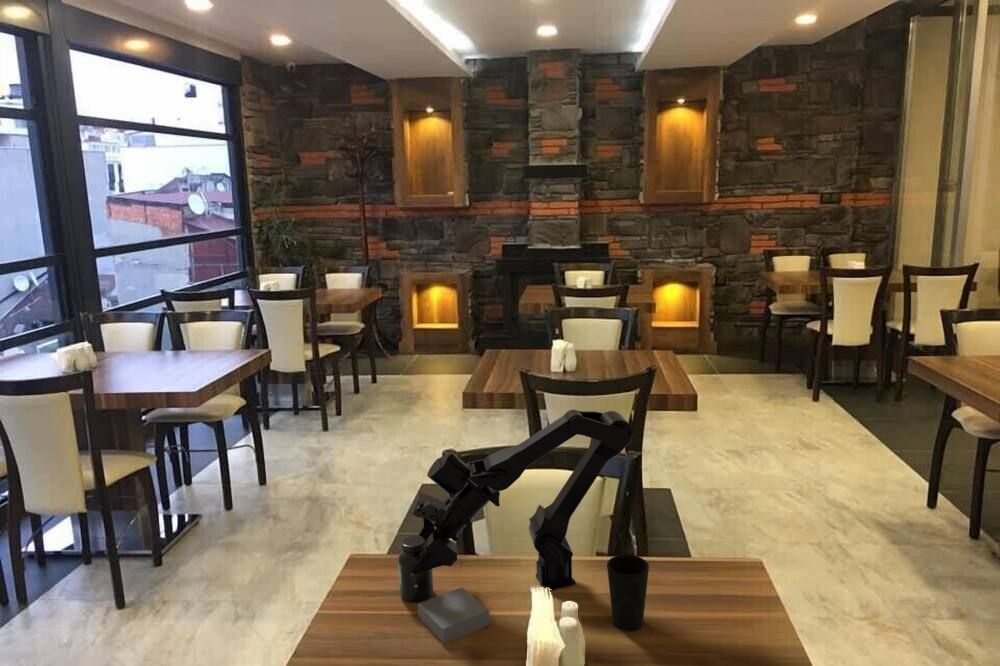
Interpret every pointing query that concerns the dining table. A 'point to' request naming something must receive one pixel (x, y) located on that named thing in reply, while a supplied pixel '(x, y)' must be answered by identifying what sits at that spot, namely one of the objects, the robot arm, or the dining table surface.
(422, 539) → the supplement bottle
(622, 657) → the dining table surface
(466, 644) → the dining table surface
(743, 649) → the dining table surface
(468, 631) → the plinth
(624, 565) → the cup
